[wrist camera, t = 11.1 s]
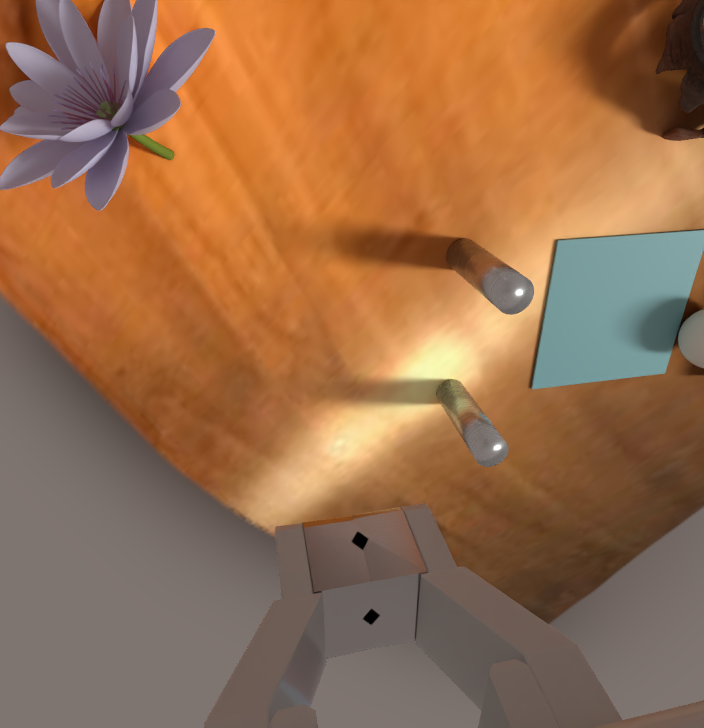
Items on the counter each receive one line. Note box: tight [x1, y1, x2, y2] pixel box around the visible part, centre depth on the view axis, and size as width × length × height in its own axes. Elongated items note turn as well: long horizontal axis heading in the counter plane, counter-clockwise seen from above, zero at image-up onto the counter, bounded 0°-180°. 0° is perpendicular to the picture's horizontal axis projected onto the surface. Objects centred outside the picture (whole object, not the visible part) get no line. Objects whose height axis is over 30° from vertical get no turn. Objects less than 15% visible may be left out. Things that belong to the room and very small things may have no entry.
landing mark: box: [531, 230, 704, 389], centre depth 47 cm, size 14×14×1 cm
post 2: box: [436, 379, 508, 467], centre depth 44 cm, size 3×3×9 cm
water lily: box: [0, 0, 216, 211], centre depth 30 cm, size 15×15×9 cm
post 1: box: [447, 238, 534, 314], centre depth 38 cm, size 3×3×9 cm
